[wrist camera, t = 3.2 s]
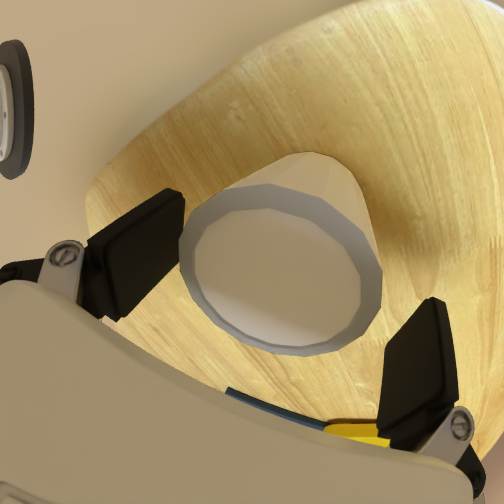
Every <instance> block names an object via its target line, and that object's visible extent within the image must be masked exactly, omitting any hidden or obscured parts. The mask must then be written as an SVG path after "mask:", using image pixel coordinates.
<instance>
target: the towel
mask: <svg viewBox="0 0 504 504" xmlns="http://www.w3.org/2000/svg"><path fill="white" fill-rule="evenodd" d="M225 394H226V395H229V396H231V397H233V398H235V399H237V400H240V401H242V402H244V403H247V404H249V405H251V406H254V407H256V408H258V409H261V410H263V411H266V412H268V413H271V414H274V415H276V416H279V417H282V418H284V419H287V420H290V421H293V422H296V423H298V424H301V425H304V426H307V427H310V428H313V429H317V430H320V431H323V430H324V428H325V427H327V426H329V425H332V424H329V423H325V422H322V421H318V420H315V419H312V418H308V417H305V416H302V415H299V414H296V413H293V412H290V411H287V410H284V409H281V408H279V407H276V406H273V405H270V404H268V403H265V402H263V401H260V400H257V399H255V398H252V397H250V396H248V395H245V394H243V393H240V392H238V391H236V390H233V389H231V388H229V387H228V388H227V390H226V392H225Z"/></svg>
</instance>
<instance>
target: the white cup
mask: <svg viewBox="0 0 504 504" xmlns="http://www.w3.org/2000/svg"><path fill="white" fill-rule="evenodd" d="M179 263H180V272H181V274H182V277H183V279H184V281H185V283H186V286H187V288H188V290H189V292H190V294H191V297H192V299H193V300H194V301H195V303H196V304H197V305H198V306H199V307H200V308H201V309H202V310H203V312H204V313H205V314H206V315H207V316H208V317H209V318H210V319H211V321H212V322H213V323H214V324H215V325H217V326H218V327H220V328H221V329H223V330H224V331H226V332H227V333H229V334H230V335H232V336H233V337H235V338H236V339H238V340H239V341H241V342H243V343H245V344H248V345H251V346H253V347H256V348H259V349H262V350H264V351H267V352H270V353H273V354H282V355H291V356H302V357H307V356H313V355H318V354H323V353H328V352H333V351H337V350H339V349H341V348H342V347H344V346H346V345H347V344H349V343H351V342H352V341H354V340H355V339H357V338H359V337H360V336H362V335H363V334H364V333H365V331H366V330H367V328H368V327H369V325H370V324H371V322H372V321H373V319H374V318H375V316H376V314H377V313H378V311H379V310H380V308H381V296H382V274H383V271H382V266H381V262H380V257H379V253H378V248H377V244H376V240H375V236H374V232H373V228H372V224H371V221H370V217H369V213H368V210H367V206H366V203H365V199H364V196H363V193H362V190H361V188H360V186H359V185H358V183H357V181H356V179H355V177H354V176H353V174H352V172H351V171H350V170H348V169H347V168H346V167H345V166H343V165H342V164H341V163H340V162H338V161H337V160H336V159H334V158H333V157H329V156H326V155H322V154H319V153H315V152H303V153H295V154H289V155H287V156H285V157H283V158H281V159H279V160H277V161H275V162H273V163H271V164H269V165H267V166H265V167H264V168H262V169H260V170H258V171H256V172H254V173H252V174H250V175H248V176H247V177H245V178H243V179H241V180H239V181H237V182H236V183H234V184H232V185H230V186H228V187H227V188H225V189H223V190H221V191H220V192H219V193H217V194H216V195H214V196H213V197H211V198H210V199H209V200H207V201H206V202H204V203H203V204H201V205H200V206H199V207H197V208H196V209H194V210H193V211H192V212H191V214H190V216H189V219H188V221H187V223H186V225H185V227H184V229H183V232H182V234H181V236H180V238H179Z"/></svg>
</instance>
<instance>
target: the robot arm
mask: <svg viewBox="0 0 504 504" xmlns="http://www.w3.org/2000/svg"><path fill="white" fill-rule="evenodd" d="M13 138H14V99H13V90H12V84H11V79H10V75H9V72H8V70H7V68H6V67H5V66H4V65H2V64H1V65H0V162H1V161H3V160H5V159H7V158H8V157H9V154H10V152H11V149H12V145H13ZM184 213H185V198H183V195H182V193H181V192H178V191H175V190H173V189H170V188H166V189H164V190H163V191H161V192H159V193H158V194H156V195H154V196H153V197H151V198H149V199H148V200H146V201H145V202H143V203H141V204H140V205H138V206H137V207H135V208H134V209H132V210H130V211H129V212H127V213H126V214H124V215H123V216H121V217H120V218H118V219H117V220H115V221H114V222H112V223H111V224H109V225H108V226H106V227H105V228H104V229H102V230H101V231H99V232H98V233H96V234H95V235H94V236H92V237H91V238H89V239H88V240H87V243H88V246H87V247H85V248H84V247H83V245H82V244H81V243H80V242H78V241H75V240H65V241H61V242H59V243H57V244H55V245H54V246H52V247H51V248H50V249H49V250H48V252H47V254H46V256H45V258H41V259H33V260H25V261H17V262H11V263H8V264H6V265H4V266H3V267H2V268H1V269H0V504H485V499H484V493H481V492H482V490H483V488H484V485H485V481H486V474H485V471H484V468H483V466H482V464H481V462H480V460H479V459H478V457H477V455H476V453H475V451H474V450H473V448H472V446H471V444H470V442H471V440H472V438H473V435H474V429H475V427H474V420H473V417H472V415H471V413H470V412H469V411H468V410H467V408H465V407H463V406H457V407H454V403H455V402H456V401H457V400H459V390H458V378H457V368H456V359H455V351H454V345H453V338H452V332H451V327H450V322H449V317H448V312H447V307H446V304H445V302H443V301H441V300H439V299H437V298H435V297H430V298H429V299H425V300H424V301H423V302H422V303H421V305H420V306H419V307H418V308H417V310H416V311H415V312H414V313H413V314H412V316H411V317H410V318H409V319H408V320H407V322H406V323H405V324H404V325H403V326H402V327H401V328H400V330H399V331H398V332H397V333H396V334H395V335H394V336H393V337H392V338H391V340H390V341H389V342H388V343H387V345H386V347H385V352H384V365H383V377H382V386H381V395H380V402H379V410H378V416H377V422H376V428H377V429H378V435H377V437H378V438H383V439H388V440H389V439H390V443H389V445H388V446H387V447H382V446H377V445H373V444H368V443H364V442H360V441H356V440H352V439H348V438H344V437H340V436H337V435H333V434H330V433H326V432H323V431H320V430H317V429H313V428H310V427H307V426H304V425H301V424H298V423H296V422H293V421H290V420H287V419H284V418H282V417H279V416H276V415H274V414H271V413H268V412H266V411H263V410H261V409H258V408H256V407H254V406H251V405H249V404H247V403H244V402H242V401H240V400H237V399H235V398H233V397H231V396H229V395H226V394H224V393H222V392H220V391H218V390H216V389H214V388H212V387H210V386H208V385H206V384H204V383H202V382H200V381H198V380H196V379H194V378H192V377H190V376H188V375H186V374H185V373H183V372H181V371H179V370H177V369H175V368H174V367H172V366H170V365H168V364H167V363H165V362H163V361H161V360H160V359H158V358H156V357H155V356H153V355H151V354H150V353H148V352H146V351H145V350H143V349H142V348H140V347H138V346H137V345H135V344H134V343H132V342H131V341H129V340H127V339H126V338H124V337H123V336H121V335H120V334H118V333H117V332H115V331H114V330H112V329H111V328H110V327H108V326H107V325H105V324H104V323H102V318H103V317H104V316H105V315H106V316H108V317H109V318H110V319H112V320H113V321H115V322H117V321H118V320H119V319H120V318H121V317H123V318H124V317H126V316H127V315H128V314H129V313H130V312H131V311H132V310H133V309H134V308H135V307H136V306H137V305H138V304H139V303H140V302H141V300H142V299H143V298H144V297H145V296H146V295H147V294H148V293H149V292H150V291H151V290H152V289H153V288H154V287H155V286H156V285H157V284H158V283H159V282H160V281H161V280H162V279H163V278H164V277H165V276H166V275H167V274H168V272H169V271H170V270H171V269H172V268H173V267H174V266H175V265H176V264H177V263H178V262H179V238H180V236H181V234H182V232H183V226H184Z"/></svg>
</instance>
